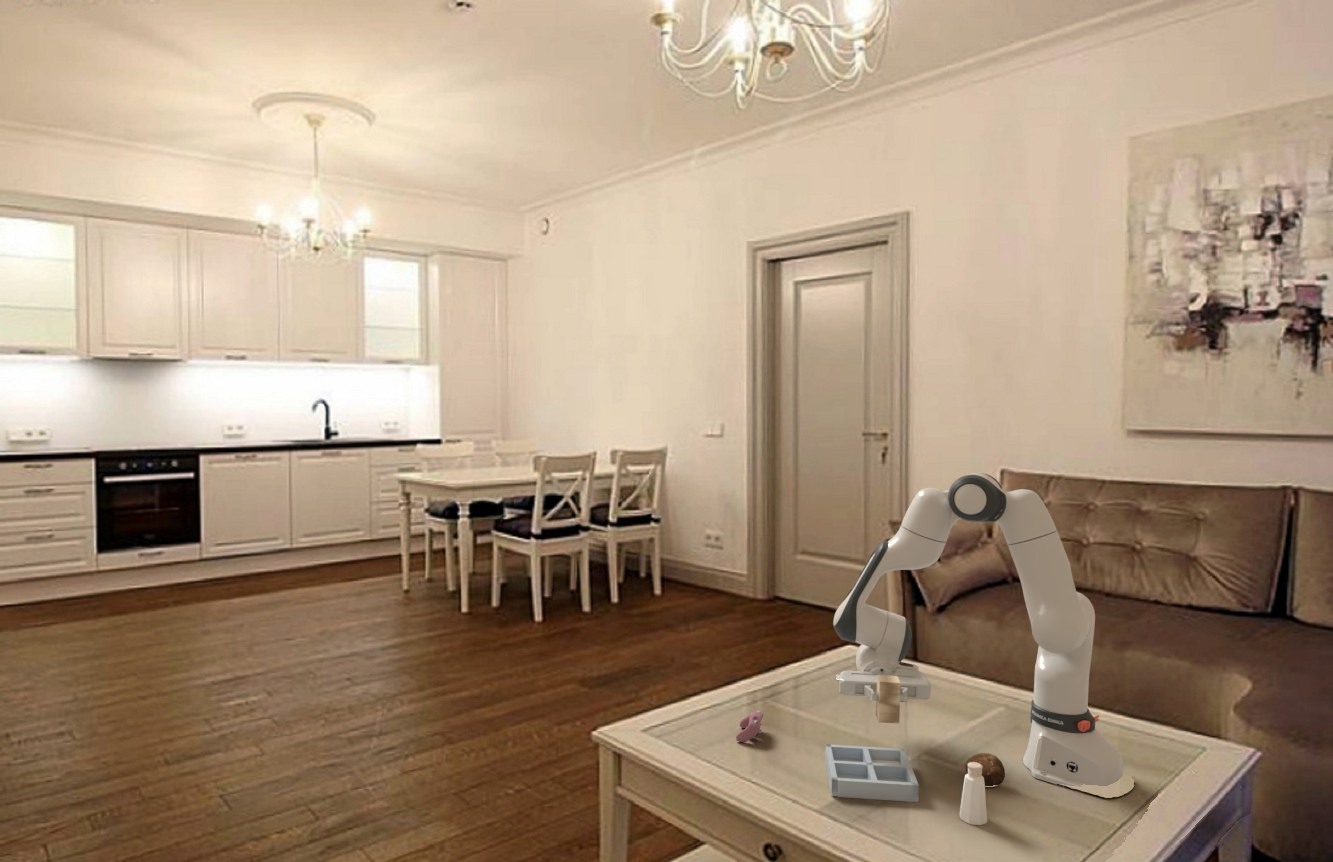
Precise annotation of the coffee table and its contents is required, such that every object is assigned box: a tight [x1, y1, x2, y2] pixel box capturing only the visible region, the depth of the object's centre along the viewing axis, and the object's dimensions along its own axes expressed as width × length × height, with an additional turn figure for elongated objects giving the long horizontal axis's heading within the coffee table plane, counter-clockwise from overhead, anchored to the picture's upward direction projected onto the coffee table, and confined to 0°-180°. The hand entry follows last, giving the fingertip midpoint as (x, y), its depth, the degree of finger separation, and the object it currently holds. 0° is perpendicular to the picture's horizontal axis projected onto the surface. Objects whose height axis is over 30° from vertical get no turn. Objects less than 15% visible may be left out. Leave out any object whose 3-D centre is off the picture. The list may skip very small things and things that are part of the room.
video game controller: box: [735, 709, 764, 743], centre depth 207 cm, size 10×5×7 cm, turn 169°
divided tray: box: [824, 743, 920, 803], centre depth 185 cm, size 18×18×4 cm
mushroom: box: [964, 752, 1006, 786], centre depth 185 cm, size 8×8×6 cm
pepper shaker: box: [959, 762, 988, 826], centre depth 169 cm, size 5×5×11 cm
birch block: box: [875, 675, 901, 724], centre depth 189 cm, size 4×4×9 cm
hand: (888, 698), depth 188 cm, fingers closed on birch block, 4 cm apart
